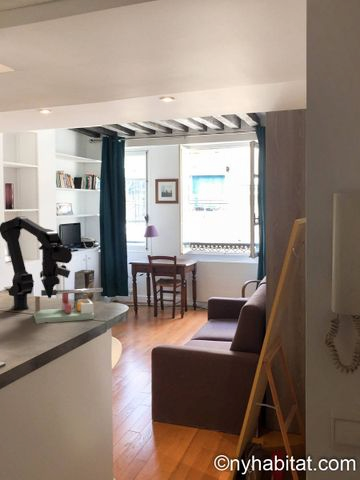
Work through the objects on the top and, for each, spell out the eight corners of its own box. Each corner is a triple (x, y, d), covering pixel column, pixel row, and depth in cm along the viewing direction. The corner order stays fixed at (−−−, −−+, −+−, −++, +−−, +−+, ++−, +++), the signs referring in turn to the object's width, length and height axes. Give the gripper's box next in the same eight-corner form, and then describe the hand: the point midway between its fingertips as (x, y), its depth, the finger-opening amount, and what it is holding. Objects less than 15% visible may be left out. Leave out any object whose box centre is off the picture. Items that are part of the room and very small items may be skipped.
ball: (85, 302, 191) (82, 311, 191) (76, 300, 190) (73, 309, 190) (87, 304, 188) (84, 313, 188) (77, 302, 186) (75, 311, 186)
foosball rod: (41, 308, 189) (41, 289, 188) (101, 304, 199) (101, 286, 198) (43, 314, 180) (43, 294, 179) (106, 310, 190) (107, 291, 189)
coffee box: (86, 307, 202) (87, 273, 201) (73, 306, 204) (73, 272, 202) (94, 303, 211) (94, 269, 210) (81, 302, 213) (82, 269, 211)
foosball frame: (33, 315, 188) (33, 296, 187) (88, 311, 197) (88, 293, 196) (36, 323, 176) (36, 303, 175) (94, 318, 185) (94, 300, 184)
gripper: (72, 263, 182) (72, 301, 183) (65, 257, 199) (65, 291, 200) (44, 264, 177) (43, 302, 179) (39, 257, 195) (39, 292, 196)
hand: (49, 297), depth 189 cm, fingers closed on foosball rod, 2 cm apart
